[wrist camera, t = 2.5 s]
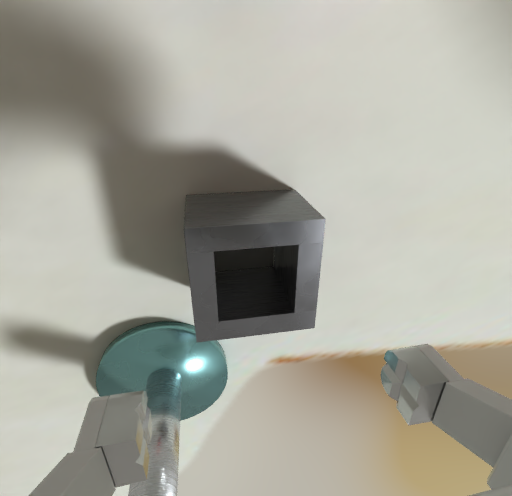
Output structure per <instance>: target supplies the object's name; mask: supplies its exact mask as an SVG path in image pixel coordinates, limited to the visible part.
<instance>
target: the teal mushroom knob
mask: <svg viewBox="0 0 512 496" xmlns="http://www.w3.org/2000/svg"><path fill="white" fill-rule="evenodd" d="M227 374H228V372H227V364H226V357H225V354H224V351H223V349H222V347H221V345H220V344H219V343H218V341H217V340H214V341H206V342H198V343H197V342H196V333H195V326H192V325H189V324H185V323H179V322H155V323H149V324H145V325H141V326H138V327H135V328H133V329H131V330H129V331H127V332H125V333H123V334H122V335H120V336H119V337H117V338H116V339H115V340H114V341H113V342H112V343H111V344H110V345H109V346H108V348H107V349H106V351H105V352H104V354H103V357H102V359H101V362H100V365H99V368H98V371H97V375H96V387H97V391H98V393H99V396H100V397H101V396H108V395H114V394H122V393H129V392H136V391H146V394H147V398H148V399H147V407H149V408H150V411H151V417H152V436H151V442H150V443H149V445H148V446H147V448H148V452H149V465H148V474H147V480H145V481H141V482H136V483H132V484H130V488H129V494H128V496H177V484H178V482H177V481H178V460H179V436H180V421H181V420H184V419H187V418H190V417H192V416H195V415H197V414H199V413H201V412H202V411H204V410H206V409H207V408H208V407H210V406H211V405H212V404H213V403H214V402H215V401H216V400H217V399H218V398H219V396H220V395H221V394H222V392H223V390H224V388H225V386H226V382H227Z"/></svg>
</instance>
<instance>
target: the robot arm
mask: <svg viewBox="0 0 512 496" xmlns="http://www.w3.org/2000/svg"><path fill="white" fill-rule="evenodd" d="M384 359H385V361H386V362H387V363H386V365H385V366H384V367H383V368H382V371H381V380H382V384H383V387H384V389H385V391H386V392H387V394H388V395H389V396H390V397H391V398H393V399H395V400H396V401H397V409H398V410H399V412H400V413H401V415H402V416H403V418H404V419H405V421H406V422H407V424H408V425H413V424H419V423H424V422H430V421H432V423H433V424H435V425H436V426H438V427H439V428H440V429H442V430H443V431H444V432H445V433H447V434H448V435H450V436H451V437H452V438H454V439H455V440H456V441H458V442H459V443H461V444H462V445H463V446H465V447H466V448H467V449H469V450H470V451H471V452H473V453H474V454H476V455H477V456H478V457H480V458H481V459H482V460H484V461H485V462H486V463H488V464H489V465H491V466H492V467H493V469H492V471H491V473H490V475H489V477H488V480H487V484H488V485H489V486H490V488H491V489H492V490H489V491H485V492H481V493H477V494H473V495H469V496H512V400H511V399H509V398H507V397H505V396H503V395H501V394H499V393H497V392H495V391H493V390H491V389H489V388H486V387H485V386H483V385H481V384H478V383H476V382H474V381H472V380H470V379H463V377H462V376H461V375H460V374H459V373H458V372H457V371H456V370H455V369H454V368H453V367H452V366H451V365H450V364H449V363H448V362H447V361H446V360H445V359H444V358H443V357H442V356H441V355H440V354H439V353H438V352H437V351H436V350H435V349H434V348H433V347H432V346H430V345H428V344H424V345H418V346H411V347H405V348H399V349H394V350H388V351H387V352H386V353H385V357H384ZM147 399H148V398H147V394H146V391H136V392H129V393H122V394H114V395H108V396H101V397H94V398H92V399H91V401H90V402H89V405H88V408H87V411H86V414H85V417H84V420H83V423H82V426H81V430H80V433H79V436H78V439H77V442H76V445H75V448H74V451H73V452H72V453H67V455H66V456H65V457H64V458H63V459H62V460H61V461H60V462H59V463H58V464H57V465H56V466H55V468H54V469H53V470H52V471H51V472H50V473H49V474H48V475H47V476H46V477H45V478H44V479H43V481H42V482H41V483H40V484H39V485H38V486H37V487H36V488H35V489H34V490H33V491H32V492H31V494H30V495H29V496H112V495H113V493H114V491H115V490H116V489H115V487H120V486H124V485H128V484H132V483H136V482H141V481H145V480H147V474H148V465H149V452H148V448H147V446H148V445H149V443H150V442H151V436H152V417H151V411H150V408H149V407H147Z"/></svg>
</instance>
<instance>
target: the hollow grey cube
mask: <svg viewBox="0 0 512 496" xmlns="http://www.w3.org/2000/svg"><path fill="white" fill-rule="evenodd" d="M324 229H325V218H324V217H323V216H322V215H321V214H320V213H319V212H318V211H317V210H316V209H314V208H313V207H312V206H311V205H310V204H309V203H308V202H307V201H306V200H305V199H304V198H303V197H302V196H301V195H300V194H299V193H298V192H297V191H296V190H277V191H258V192H239V193H219V194H200V195H186V205H185V219H184V235H185V244H186V253H187V262H188V271H189V280H190V288H191V297H192V306H193V315H194V324H195V333H196V342H197V343H198V342H206V341H214V340H222V339H230V338H238V337H246V336H254V335H262V334H270V333H278V332H286V331H294V330H302V329H310V328H314V327H315V317H316V308H317V298H318V288H319V278H320V268H321V258H322V249H323V239H324ZM263 247H274V262H273V267H264V268H253V269H242V270H231V271H220V272H215V264H214V251H225V250H238V249H250V248H263Z"/></svg>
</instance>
